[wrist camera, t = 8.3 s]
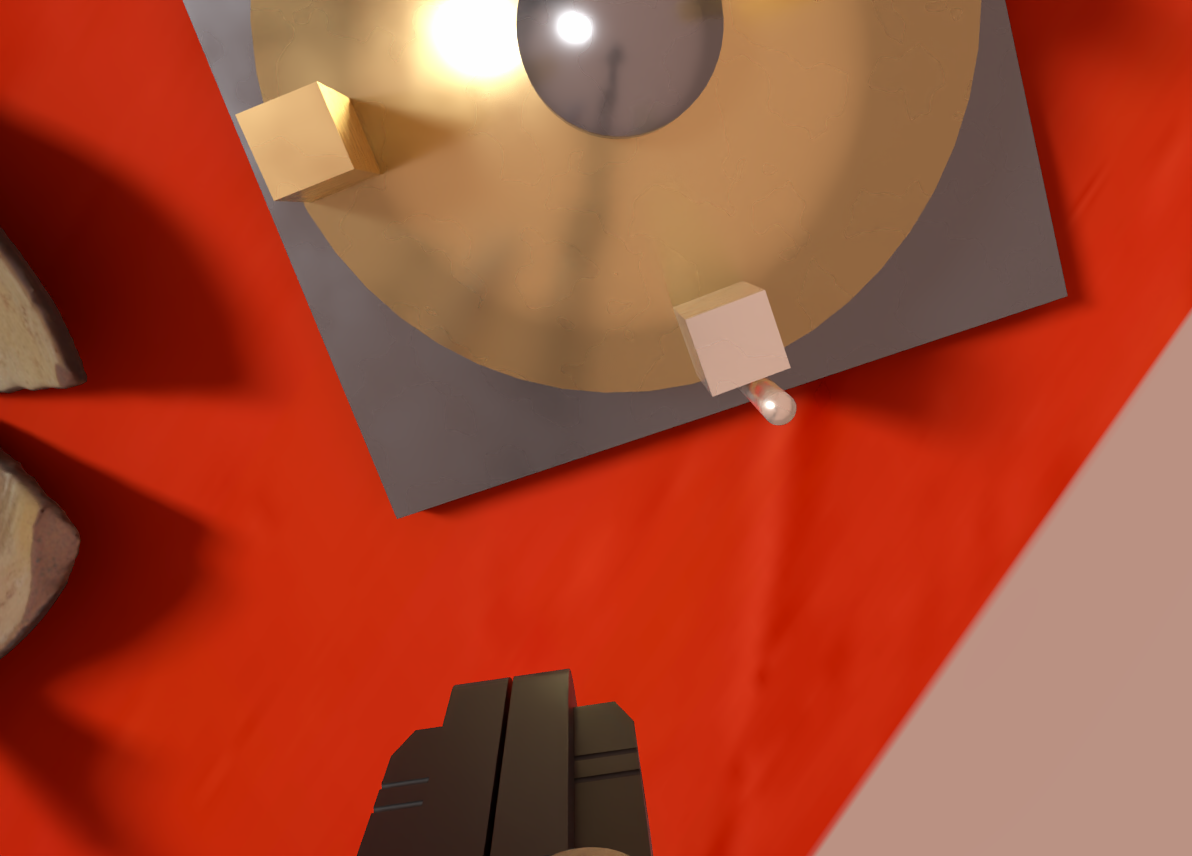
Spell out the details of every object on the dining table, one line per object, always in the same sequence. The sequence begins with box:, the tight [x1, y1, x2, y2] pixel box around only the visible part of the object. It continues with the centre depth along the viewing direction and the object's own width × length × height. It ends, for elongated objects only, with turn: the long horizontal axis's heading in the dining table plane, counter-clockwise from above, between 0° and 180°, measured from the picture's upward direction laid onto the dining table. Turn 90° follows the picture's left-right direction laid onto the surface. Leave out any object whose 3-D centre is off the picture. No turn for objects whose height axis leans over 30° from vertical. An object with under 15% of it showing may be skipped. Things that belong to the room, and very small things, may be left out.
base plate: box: [183, 0, 1067, 519], centre depth 28 cm, size 26×26×8 cm
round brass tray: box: [235, 0, 981, 397], centre depth 27 cm, size 22×22×6 cm
